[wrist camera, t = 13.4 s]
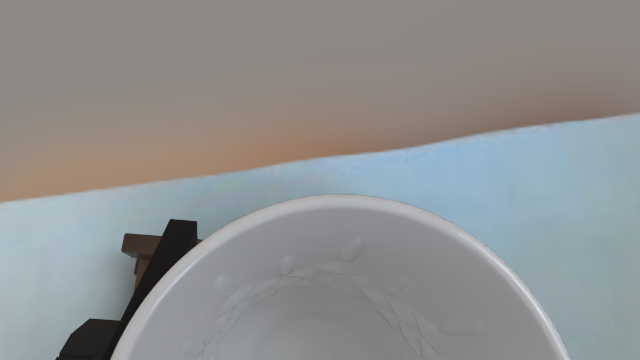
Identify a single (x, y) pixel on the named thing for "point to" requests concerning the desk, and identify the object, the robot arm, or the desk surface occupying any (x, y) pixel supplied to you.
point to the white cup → (340, 291)
